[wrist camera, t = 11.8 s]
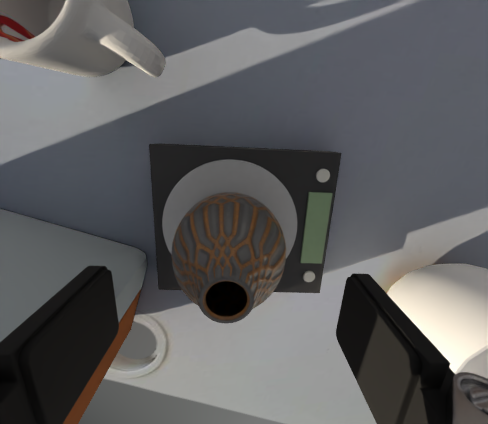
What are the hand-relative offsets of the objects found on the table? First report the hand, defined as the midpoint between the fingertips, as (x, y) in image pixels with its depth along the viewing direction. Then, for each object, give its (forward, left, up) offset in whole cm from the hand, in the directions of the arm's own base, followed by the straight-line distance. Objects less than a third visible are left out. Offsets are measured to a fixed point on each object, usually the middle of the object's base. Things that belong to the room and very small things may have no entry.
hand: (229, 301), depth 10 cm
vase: (0, 0, -10) cm, 10 cm away
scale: (0, +1, -12) cm, 12 cm away
